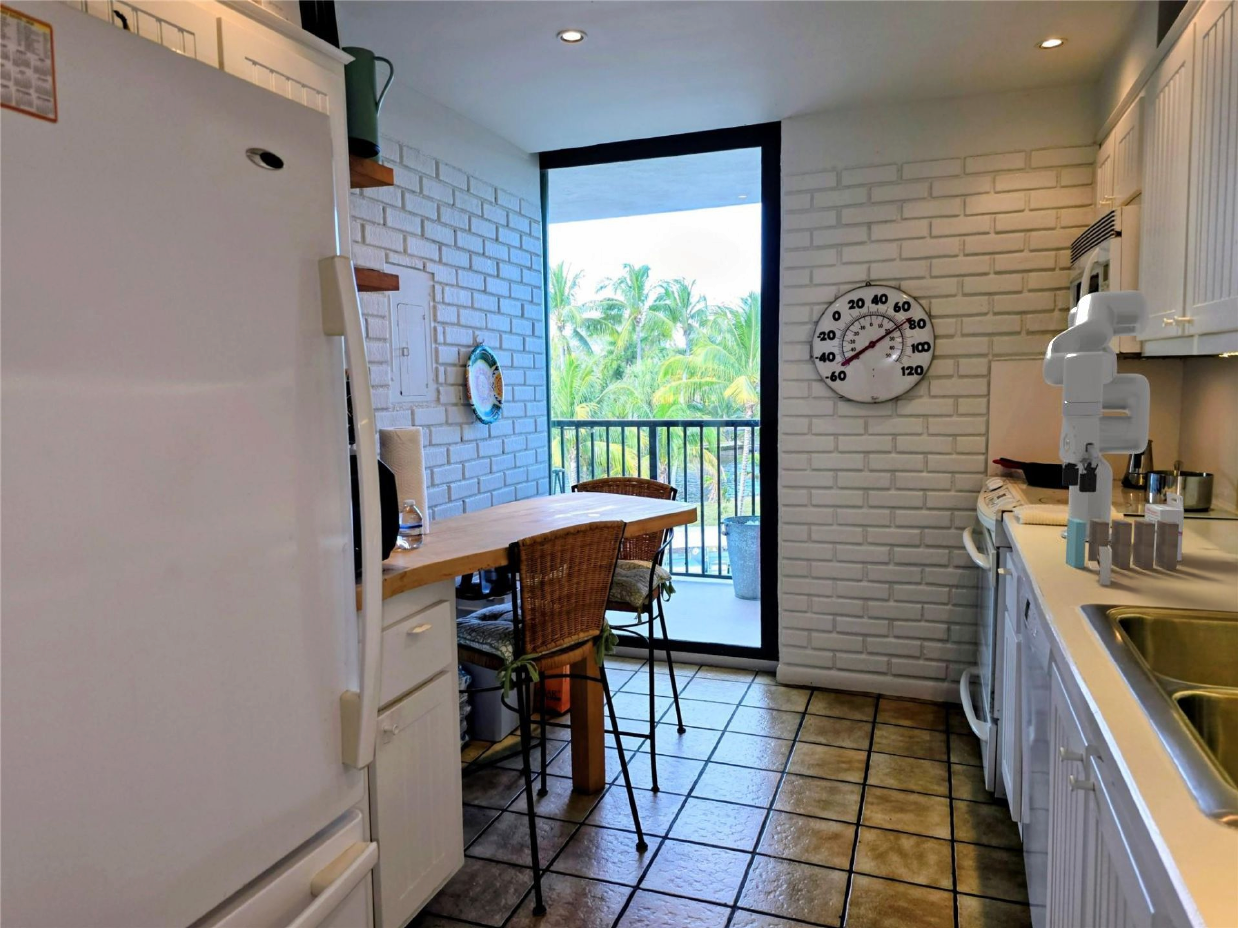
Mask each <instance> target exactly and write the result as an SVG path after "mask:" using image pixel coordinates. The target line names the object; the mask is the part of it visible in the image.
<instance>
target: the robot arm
mask: <svg viewBox="0 0 1238 928" xmlns="http://www.w3.org/2000/svg"><path fill="white" fill-rule="evenodd" d="M1149 313H1150V312H1149V304H1148V301H1147V298H1146V296H1145V295H1144V294H1143V293H1142V292H1141V291H1139V290H1134V289H1127V290H1113V291H1096V292H1091V293H1088V294H1086V295H1084V296H1083V297H1082V298H1080V299H1079V301H1078V302H1077V304H1076V307H1073V308H1072V309H1071V310H1070V311H1069V314H1068V317H1067V324H1068V325H1067V326H1068V329H1066V330H1065V331H1063V332H1061V333H1059V334H1058V335H1057V336H1055V337H1054V338H1053V339H1052V340H1051V341H1050V342H1049V344H1048V346H1047V348H1046V351H1045V355H1044V359H1043V363H1042V364H1043V365H1042V376H1043V380H1044V382H1045V383H1047V384H1048V385H1050V386H1052V387H1062V399H1061V400H1062V403H1061V418H1063V419H1062V422H1061V430H1060V438H1059V439H1060V440H1059V450H1058V457H1059V459H1060V460H1061V461H1062V464H1061V466H1062V472H1061V473H1062V476H1061V477H1062V478H1061V479H1062V480H1061V485H1062V486H1063V487H1069V488H1068V489H1069V490H1068V491H1069V492H1068V512H1067V513H1068V514H1067V520H1068V519H1079V520H1082V521H1084V522H1086V542H1089V526H1090V519H1101V520H1103V521H1106V522H1108V523H1109V540H1108V542H1111V522H1112V519H1111V518H1112V517H1111V516H1112V498H1113V495H1112V494H1113V479H1114V477H1113V474H1114V473H1113V469H1112V467H1111V465H1110V464H1109V462H1108V461H1107V460H1106V459H1105V457H1103V456H1102V455H1103V454H1115V455H1116V454H1117V455H1119V454H1122V455H1127V454H1128V455H1129V454H1130V455H1134V454H1141V453H1143V452H1144V451H1145V450H1146V449H1147V446H1148V442H1149V432H1150V430H1149V429H1150V408H1151V407H1150V405H1151V390H1150V389H1151V388H1150V382H1149V380H1148V378H1147V377H1146V376H1144V375H1142V374H1140V373H1117V372H1118V363H1117V362H1118V361H1117V360H1118V359H1117V354H1116V352H1115V351H1114V349H1113V348H1112V347H1111V346H1110V345H1109V344H1110V343H1111V341H1112V339H1113V338H1114V337H1134V336H1135V337H1136V336H1139V335H1142V334H1143V333H1145V331H1146V330H1147V327H1148V324H1149V320H1150V319H1149V318H1150V316H1149V315H1150V314H1149ZM1103 412H1124V413H1126V414H1127V415H1103ZM1060 536H1061V537H1062V538H1065V539H1067V529H1062V530H1060Z"/></svg>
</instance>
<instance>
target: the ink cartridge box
mask: <svg viewBox="0 0 1238 928" xmlns="http://www.w3.org/2000/svg"><path fill="white" fill-rule="evenodd" d="M1173 499H1175V500H1177V501H1175V500H1173ZM1184 516H1185V510H1184V497H1183V495H1179V494H1176V493H1174V492H1169V491H1167V492H1166V503H1164V504H1163V503H1158V504H1157V503H1154V504H1153V503H1145V504H1144V520H1146V521H1149V522H1152V523H1155V543H1154V559H1155V552H1156V533H1157V520H1168V521H1171V522H1174V523H1177V524H1179V533H1178V551H1177V562H1179V561H1180V562H1181V561H1182V556H1183V555H1182V554H1183V553H1182V552H1183V533H1184Z"/></svg>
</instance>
